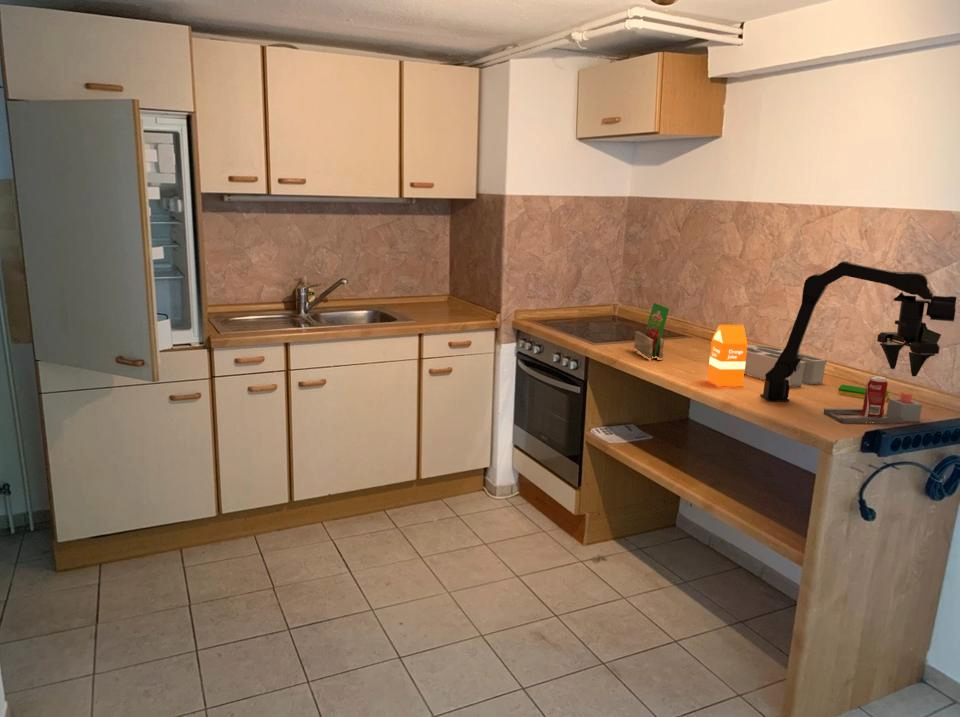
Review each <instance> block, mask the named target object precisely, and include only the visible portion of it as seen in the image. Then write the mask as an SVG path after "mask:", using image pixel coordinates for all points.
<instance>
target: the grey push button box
mask: <svg viewBox="0 0 960 717" xmlns="http://www.w3.org/2000/svg"><path fill="white" fill-rule="evenodd" d="M886 407H887V409H886V416H887V415H888V416H887V417H889V416H890V417H901V418H903V422H920V421H921V413H922V408H923V404H921V403H920V402H916V401H915V400H912V399H911V403H902V402H900V398H888V402H887V406H886Z"/></svg>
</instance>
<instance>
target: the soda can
mask: <svg viewBox="0 0 960 717" xmlns="http://www.w3.org/2000/svg"><path fill="white" fill-rule="evenodd" d="M865 388H866V391H865V397H864V399H863V405H862V409H863V410H862V415H861V417H883V409H884V410H885V403H886V402H885V397H886V391H888V390H887V389H888V381H887V378H886V377H884V376H878V375H870V376H868V379H867V380H866V385H865Z"/></svg>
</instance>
